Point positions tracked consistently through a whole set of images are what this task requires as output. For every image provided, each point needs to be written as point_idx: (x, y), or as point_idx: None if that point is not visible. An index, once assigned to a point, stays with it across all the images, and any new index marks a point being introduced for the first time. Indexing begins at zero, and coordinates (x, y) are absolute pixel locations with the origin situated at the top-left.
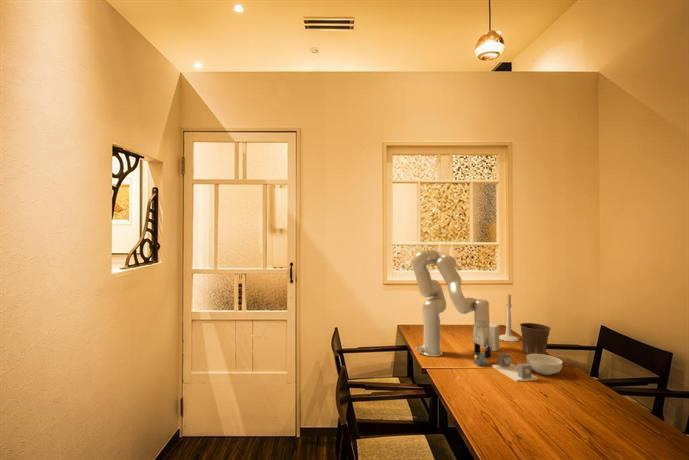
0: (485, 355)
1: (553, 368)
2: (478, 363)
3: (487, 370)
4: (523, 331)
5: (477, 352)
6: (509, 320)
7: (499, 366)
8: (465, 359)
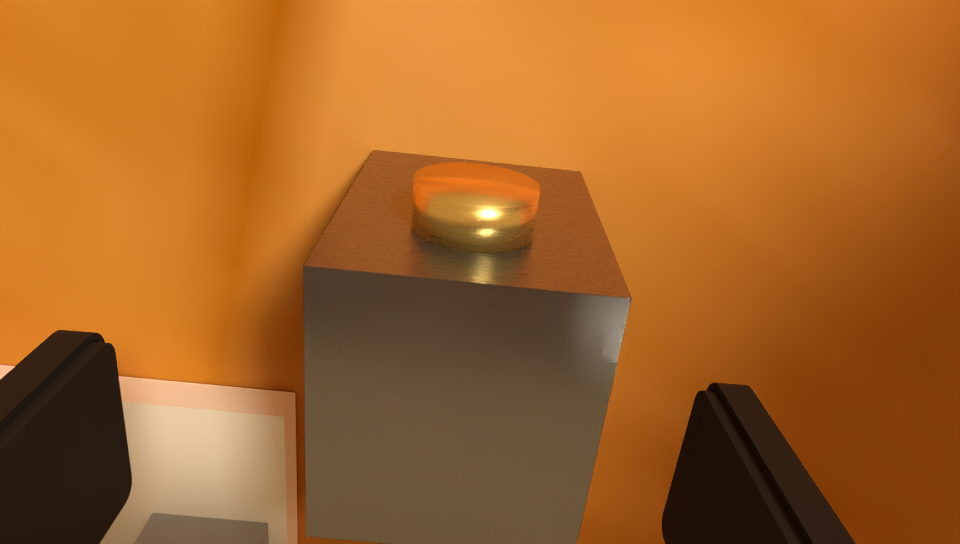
0: (5, 375)
1: None
2: (379, 172)
3: (100, 176)
4: None
5: (589, 402)
6: None
7: (167, 488)
8: (896, 143)
